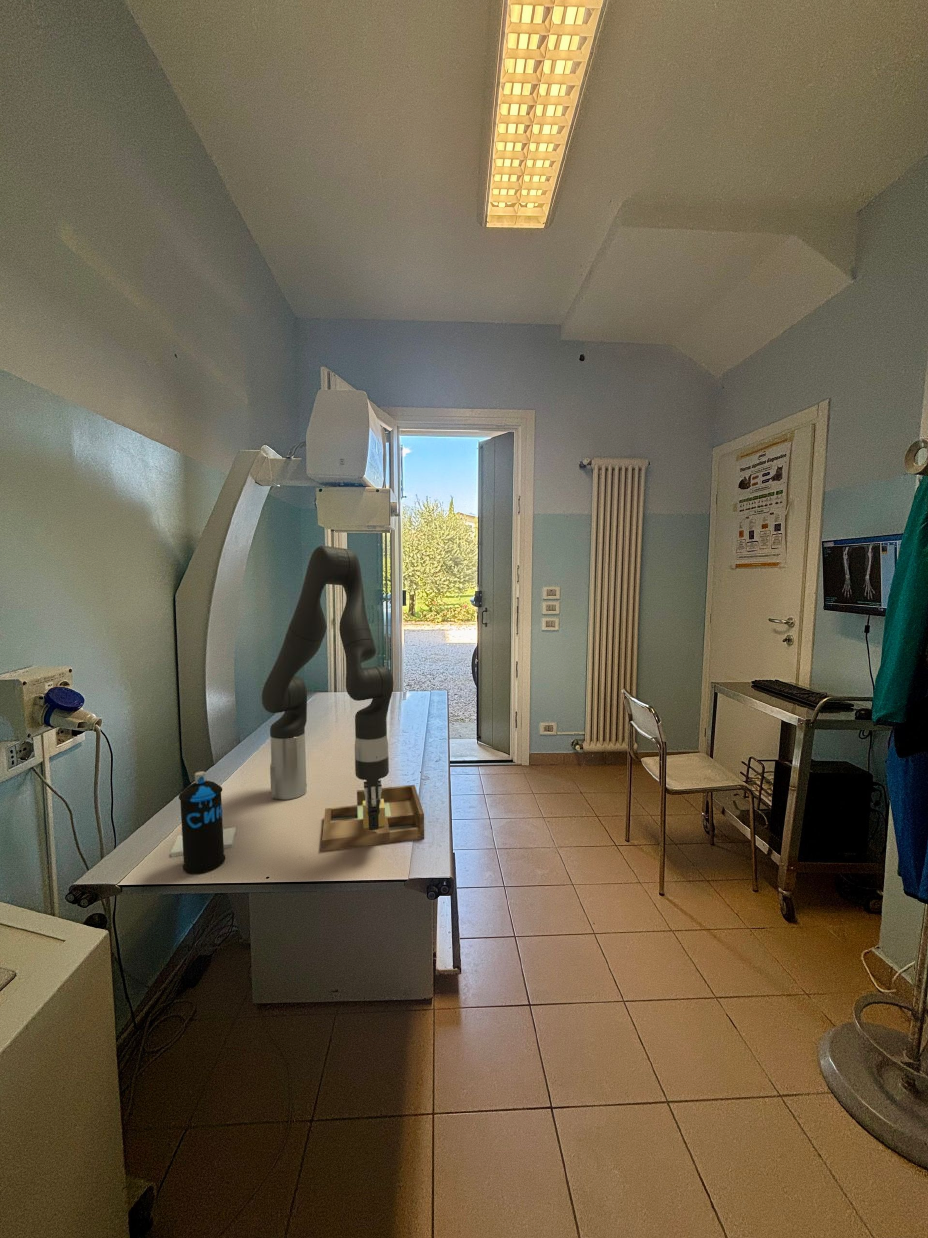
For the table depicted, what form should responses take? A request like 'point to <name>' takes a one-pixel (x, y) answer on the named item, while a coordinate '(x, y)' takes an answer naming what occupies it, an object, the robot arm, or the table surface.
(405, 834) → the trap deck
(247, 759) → the table surface
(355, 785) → the table surface
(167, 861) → the table surface
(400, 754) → the table surface
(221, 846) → the aerosol can
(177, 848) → the external hard drive
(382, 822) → the block
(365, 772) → the robot arm
